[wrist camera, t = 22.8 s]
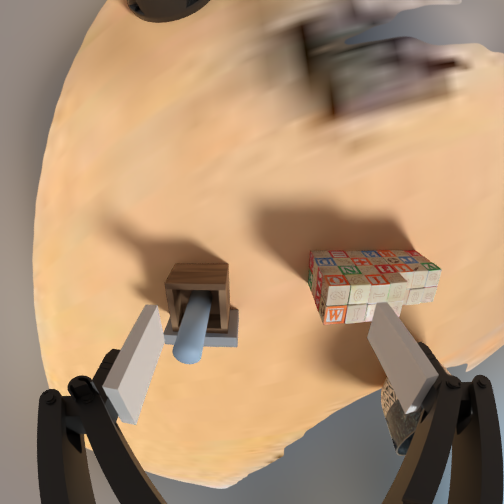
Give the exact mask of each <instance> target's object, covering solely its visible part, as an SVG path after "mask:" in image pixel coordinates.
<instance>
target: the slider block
mask: <svg viewBox="0 0 504 504" xmlns="http://www.w3.org/2000/svg"><path fill="white" fill-rule="evenodd" d="M165 289H166V295H167V301H168V307H169V313H170V318H171V324H172V329H173V332H178V331H179V328H180V325H181V322H182V319H183V316H184V313H185V310H186V307H187V304H188V301H189V298H190V295H191V292H192V291H193V290H209V291H210V292H211V294H212V303H211V308H210V313H209V318H208V323H207V329H206V333H220V334H228V326H229V316H230V293H229V265H228V264H175V266H174V268H173V269H172V271H171V273H170V275H169V276H168V278H167V280H166V282H165Z"/></svg>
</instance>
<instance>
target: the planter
mask: <svg viewBox="0 0 504 504" xmlns="http://www.w3.org/2000/svg"><path fill="white" fill-rule="evenodd" d="M440 364H441V363H440ZM441 366H442V367H443V369H444V370H445V372H446V373H447V374H448V375H451V374H450V373H449V372H448V370H447V369H446V368H445V367H444V366H443V365H442V364H441ZM381 403H382V409H383V413H384V415H385V419H386V422H387V425H388V428H389V432H390V435H391V438H392V441H393V445H394V448H395V451H396V453H397V455H400V456H406V453H407V451H408V449H409V446H410V444H411V441H412V438H413V436H414V433H415V430H416V428H417V425H418V422H419V420H418V421H416V419H417V418H418V416H419V415H420V414H421V412H422V411H423V409H424V407H423V405H422V404H421V405H420V407H419V408H418V410H417V411H414V412H411V413H407V414H405V412H404V410H403V408H402V406H401V404H400V402H399V400H398V398H397V396H396V393H395V391H394V389H393V387H392V385H391V383H390V381H389V379H388V377H387V378H386V380H385V382H384V384H383V387H382V391H381ZM419 419H420V418H419Z"/></svg>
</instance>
